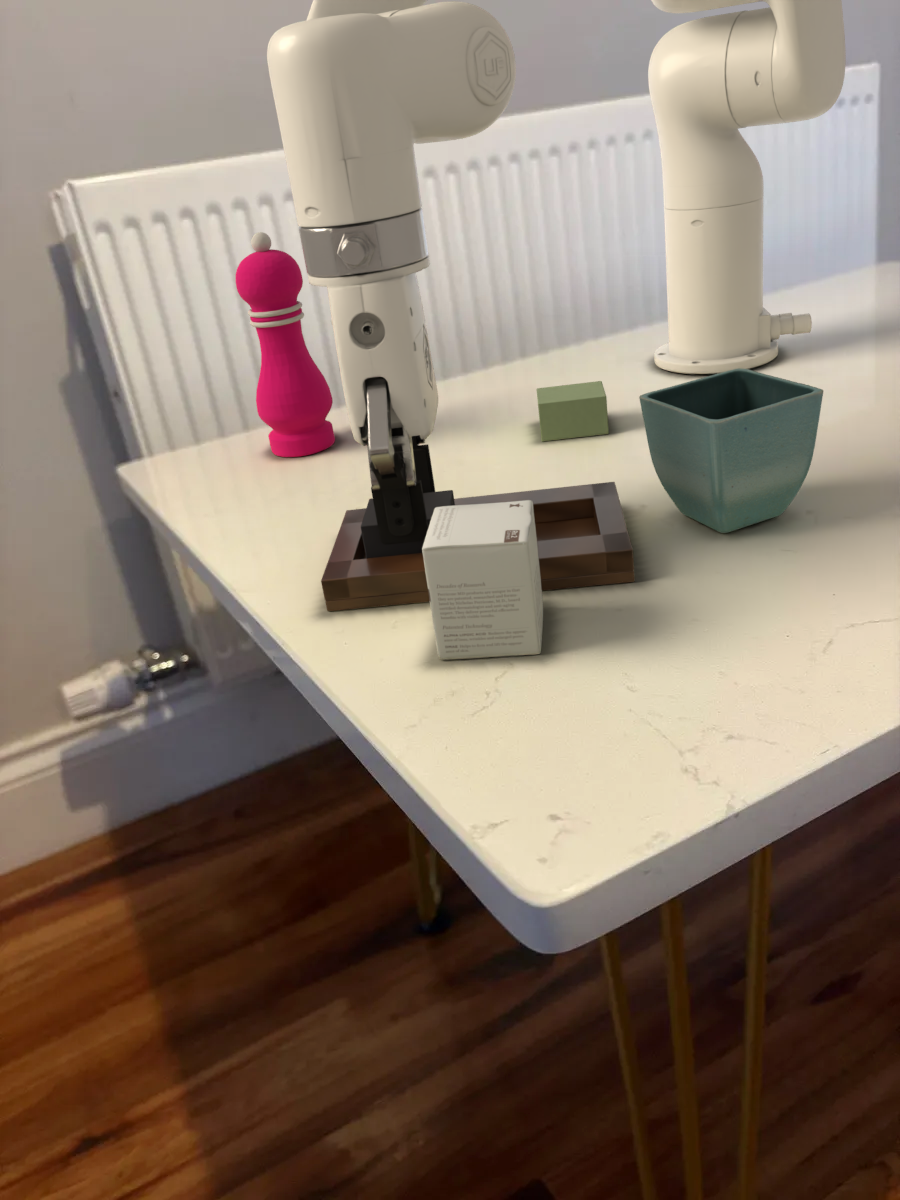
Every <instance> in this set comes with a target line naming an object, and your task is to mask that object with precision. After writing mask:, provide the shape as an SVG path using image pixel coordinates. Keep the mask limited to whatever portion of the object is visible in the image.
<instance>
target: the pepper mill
mask: <svg viewBox="0 0 900 1200" xmlns="http://www.w3.org/2000/svg"><path fill="white" fill-rule="evenodd" d="M250 243H251V247H252V249H253V250H254V251H255V252H252V253H249V254H248V255H246V256H245V257H244V258H243V259H241V261H240V262H239V264H238V265H237V268H236V272H235V287H236V291H237V293H238V295H239V296H240V298H241V299H242V300H243V301H244V302H245V303H246V304H247V305H248V306H249V307H250V309H249V310H248V311H247V315H248V317H249V319H250V321H249V325H250V326H251V327H252V328H255V331H256V334H257V337H258V340H259V347H260V370H259V375H258V381H257V386H256V394H255V395H256V396H255V403H256V411H257V415H258V417H259V419H260V420H261V421H262V422H263V423H264V424H266V425H267V426H268V427H269V428H271V429H272V430H271V431H270V432H269V434H268V442H269V446H270V450H271V453H272V454H273V455H275V456H277V457H281V458H298V457H305V456H311V455H313V454H317V453H320V452H322V451H325V450H327V449H328V448H331V447H332V446H333V445H334V444H335V442H336V437H335V431H334V427H333V423H332V422H330V421H329V420H327V419H326V418H327V417H328V416H329V413H330V412H331V410H332V406H333V403H334V402H333V401H334V400H333V396H332V392H331V388H330V386H329V384H328V382H327V380H326V378H325V376H324V374H323V373H322V372H321V370H320V369H319V367H318V365H317V363H316V362H315V361H314V359H313V357H312V356H311V354H310V351H309V350H308V347H307V345H306V342H305V338H304V335H303V330H302V329H303V328H302V320H303V318H304V317H305V313H304V311H303V308H302V307H303V302H301V301H300V300H298V296H299V294H300V292H301V291H302V288H303V284H304V279H303V275H302V270H301V267H300V266H299V263H298V262H297V260H296V259H295V258H294V257H293V256H291V255H290V254H289V253H287V252H285V251H283V250H279V249H274V248H273V249H271V248H272V238H271V237H270V236H269V235H268V234H267V233H266V232H263V231H259V232H256V233H255V234H253V235H252V237H251V240H250Z"/></svg>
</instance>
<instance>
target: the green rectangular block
mask: <svg viewBox="0 0 900 1200" xmlns="http://www.w3.org/2000/svg"><path fill="white" fill-rule="evenodd" d="M536 398H537V400H536V401H537V409H538V420H539V421H538V422H539V430H540V439H541V440H540V441H541V442H548V441H558V440H566V439H567V440H568V439H578V438H584V437H586V438H587V437H593V436H595V437H596V436H602V435H609V434H610V431H609V430H610V429H609V415H608V399H607V398H608V397H607V394H606V390H605V387H604V384H603V381H602V380H596V381H589V382H580V383H571V384H562V385H554V386H553V385H552V386H545V387H537V388H536Z"/></svg>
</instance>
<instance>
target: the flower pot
mask: <svg viewBox="0 0 900 1200" xmlns="http://www.w3.org/2000/svg"><path fill="white" fill-rule="evenodd" d="M823 397H824V389H822V388H819V387H816V386H813V385H809V384H805V383H802V382H797V381H792V380H790V379H785V378H782V377H778V376H774V375H770V374H765V373H763V372H760V371H756V370H752V369H743V368H738V369H733V370H730V371H726V372H722V373H716V374H710V375H708V376H703V377H700V378H697V379H694V380H690V381H686V382H682V383H679V384H675V385H671V386H668V387H664V388H660V389H657V390H653V391H650V392H646V393H643V394H641V395H639V396H638V399H639V403H640V409H641V415H642V418H643V424H644V430H645V435H646V440H647V445H648V451H649V455H650V458H651V462H652V465H653V468H654V470H655V472H656V476H657V478H658V480H659V482H660V483H661V485H662V487H663V489H664V491H665V492H666V494H667V495H668V497H669V498H670V500H671V502H673V504H674V505H675V506H676V508H677V509H678V510H679V512H680V513H681V514H682V515H683V516H686V517H688V518H690V519H692V520H694V521H697V522H699V523H700V524H702V525H705V526H706V527H708V528H710V529H712V530H713V531H716V532H718V533H722V534H727V533H730V532H734V531H737V530H740V529H742V528H743V529H744V528H746V527H748V526H751V525H754V524H758V523H761V522H763V521H766V520H770V519H773V518H776V517H779V516H781V515H782V514H783V513H784V512H785V511H786V510H787V509H788V507H789V506H790V504H791V503H792V502H793V500H794V499H795V497H796V496H797V494H798V492H799V491H800V490H801V487H802V486H803V484H804V482H805V480H806V477H807V475H808V473H809V471H810V467H811V464H812V461H813V457H814V453H815V452H814V451H815V447H816V442H817V441H816V440H817V436H818V430H819V429H818V428H819V423H820V417H821V410H822V403H823Z"/></svg>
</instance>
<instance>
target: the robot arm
mask: <svg viewBox="0 0 900 1200" xmlns="http://www.w3.org/2000/svg"><path fill="white" fill-rule="evenodd" d="M428 1H429V0H312V3H311V5H310V8H309V11H308V14H307V17H306V20H300V21H297V22H293V23H291V24H286V25H285V26H282V27H280V28H279V29H277V30H276V31H274V33H273V34H272V35H271V37H270V38H269V41H268V44H267V47H266V48H267V49H266V61H267V66H268V67H267V69H268V74H269V80H270V85H271V90H272V91H271V92H272V96H273V101H274V105H275V106H274V107H275V112H276V117H277V121H278V128H279V133H280V138H281V143H282V146H283V152H284V159H285V164H286V168H287V174H288V178H289V179H288V180H289V184H290V190H291V195H292V201H293V206H294V212H295V216H296V222H297V226H298V233H299V238H300V244H301V249H302V253H303V259H304V265H305V271H306V274H307V279H308V283H309V284H310V285H311V286H314V287H322V288H323V287H324V288H326V290H327V296H328V304H329V310H330V311H329V312H330V317H331V319H330V322H331V325H332V330H333V337H334V344H335V349H336V350H335V351H336V356H337V363H338V369H339V374H340V379H341V385H342V386H341V387H342V391H343V396H344V397H343V398H344V402H345V407H346V412H347V416H348V417H347V418H348V421H349V425H350V431H351V433H352V436H353V439H354V441H355V442H356V443H358V444H359V445H361V446H362V447H366V448H367V449H366V450H367V457H368V467H369V468H368V469H369V476H370V485H371V487H370V492H371V495H372V499H373V503H374V508H375V514H376V519H377V525H378V530H379V536H380V541H381V542H382V543H383V544H385V545H388V544H398V543H407V542H417V541H424V540H425V537H426V534H427V531H428V522H427V516H426V509H425V503H424V496H423V493H428V492H436V486H435V480H434V473H433V467H432V460H431V451H430V446H429V443H427V444H426V439H428V438H429V437H430V436H431V434H432V433H433V430H434V427H435V422H436V419H437V413H438V406H439V391H438V385H437V379H436V375H435V370H434V363H433V357H432V353H431V347H430V340H429V333H428V327H427V321H426V316H425V310H424V305H423V300H422V294H421V290H420V285H419V281H418V277H417V273H419V272H421V271H423V270H426V269H427V268H428V267H430V264H431V263H430V256H429V247H428V241H427V232H426V226H425V219H424V211H423V208H422V207H423V206H422V205H423V204H422V197H421V190H420V182H419V174H418V169H417V161H416V155H415V145H414V144H416V145H418V144H419V145H421V144H432V143H441V142H448V141H457V140H463V139H467V138H470V137H473V136H476V135H478V134H480V133H482V132H484V131H486V130H487V129H488V128H490V127H491V126H492V125H494V124H495V123H496V122H497V120H499V118H500V117H501V116H502V115H503V113H504V112H505V110H507V109H506V108H507V107H508V106H509V103H510V101H511V99H512V96H513V92H514V90H515V84H516V76H517V64H516V63H517V62H516V56H515V51H514V48H513V44H512V41H511V39H510V37H509V35H508V33H507V32H506V29H505V28H504V27H503V25H502V24H501V22H500V21H499V20H497V18H496V17H495V16H494V15H493V14H491V13H490V12H489V11H487V10H485V9H484V8H482V7H480V6H477V5H476V4H473V3H469V2H465V1H458V0H457V1H456V0H454V1H453V0H451V1H439V2H435V3H427V2H428ZM650 1H651V3H652V4H653V6H655V8H657V9H658V10H659V11H662V12H664V13H669V14H689V13H698V12H703V11H711V10H718V9H722V8H730V7H735V6H740V5H741V6H742V5H747V4H753V3H759V2H765V3H766V4H767V5H768V6H769V7H763V8H757V9H750V10H740V11H735V12H733V11H732V12H728V13H722V14H716V15H709V16H704V17H699V18H696V19H692V20H689V21H686V22H684V23H681V24H678V25H676V26H675V27H672V28H671V29H669V30H668V31H667V32H666V33H664V34H663V35H662V36H661V38H660V39H659V40H658V41H657V43H656V45H655V46H654V47H653V50H652V52H651V54H650V58H649V62H648V67H647V69H648V72H647V81H648V91H649V98H650V102H651V106H652V107H651V108H652V111H653V116H654V121H655V125H656V131H657V137H658V143H659V151H660V161H661V174H662V193H663V196H662V197H663V216H664V219H663V220H664V245H665V246H664V247H665V272H666V275H665V276H666V296H667V297H666V298H667V300H666V301H667V325H668V326H667V327H668V328H667V329H668V330H667V331H668V342H666V343H664V344H661V345H660V346H659V347H657V348H656V350H655V351H654V353H653V354H654V355H653V358H654V360H653V361H654V363H655V365H656V366H657V367H658V368H659V369H662V370H664V371H667V372H671V373H676V374H677V373H678V374H687V375H715V374H718V373H722V372H726V371H730V370H733V369H738V368H743V369H749V370H751V369H753V368H757V367H760V366H763V365H765V364H768V363H770V362H771V361H773V360H774V359H775V358H776V357H777V356H778V354H779V342H778V341H777V340H779V339H780V336H783V335H801V334H809V333H811V332H812V327H813V326H812V324H813V322H812V316H811V314H810V313H800V314H793V313H792V312H786V313H779V314H778V313H777V314H771V313H770V312H769V311H768V310H767V309H766V308H765V307H764V197H765V196H764V192H765V191H764V176H763V170H762V167H761V165H760V162H759V160H758V157H757V156H756V154H755V152H754V151H753V149H752V148H751V147H750V145H749V144H748V142H747V141H746V139H745V138H744V137H743V135H742V133H741V132H740V131H739V129H746V128H749V127H750V128H751V127H760V126H770V125H781V124H782V125H783V124H790V123H798V122H805V121H809V120H812V119H816V118H818V117H820V116H822V115H824V114H826V113H827V112H828V111H830V110H831V109H832V108H833V106H834V105H835V104H836V102H837V101H838V99H839V97H840V95H841V92H842V89H843V86H844V83H845V82H844V80H845V75H846V62H847V61H846V60H847V59H846V57H847V56H846V53H847V50H846V35H845V23H844V22H845V21H844V13H843V0H650ZM426 3H427V4H426Z"/></svg>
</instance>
